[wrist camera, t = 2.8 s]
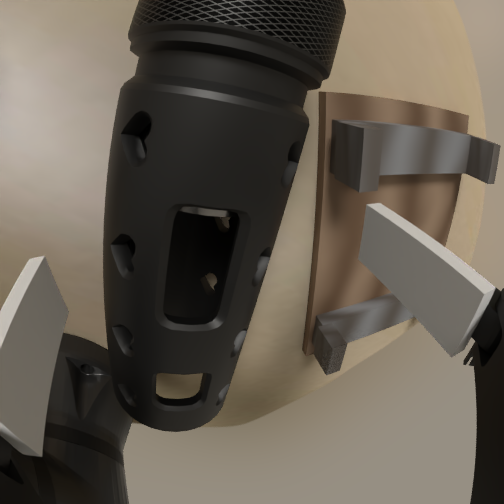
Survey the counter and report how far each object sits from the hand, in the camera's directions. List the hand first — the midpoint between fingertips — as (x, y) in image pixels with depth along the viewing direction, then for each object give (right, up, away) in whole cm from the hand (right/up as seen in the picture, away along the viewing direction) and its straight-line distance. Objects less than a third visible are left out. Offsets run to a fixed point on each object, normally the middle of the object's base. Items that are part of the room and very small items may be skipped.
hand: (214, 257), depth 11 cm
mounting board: (+15, +2, +16) cm, 22 cm away
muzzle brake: (-3, +5, +9) cm, 11 cm away
